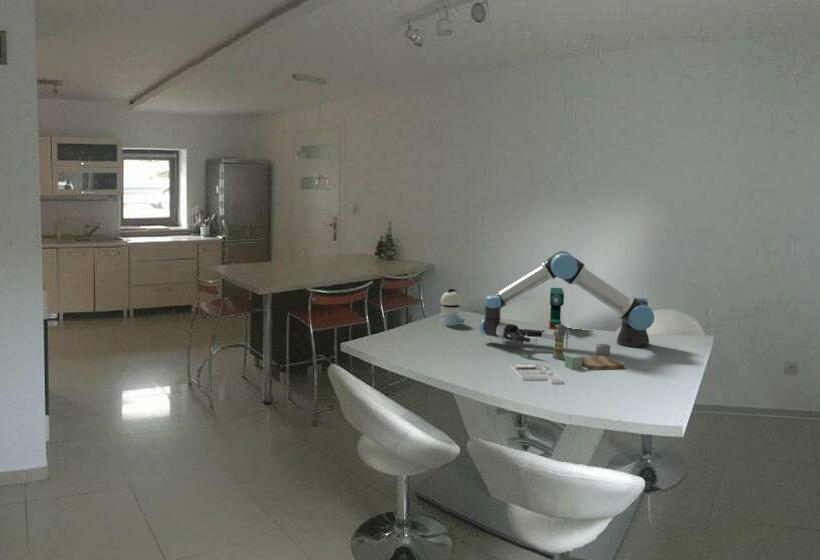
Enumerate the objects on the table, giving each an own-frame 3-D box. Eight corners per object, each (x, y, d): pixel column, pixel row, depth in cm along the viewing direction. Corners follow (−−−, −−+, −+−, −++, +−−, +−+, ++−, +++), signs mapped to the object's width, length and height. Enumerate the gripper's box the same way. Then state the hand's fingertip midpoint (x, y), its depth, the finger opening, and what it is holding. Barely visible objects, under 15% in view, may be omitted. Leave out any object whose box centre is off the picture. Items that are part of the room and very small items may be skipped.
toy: (469, 325, 375) (470, 289, 373) (454, 328, 366) (455, 291, 364) (447, 320, 386) (448, 286, 384) (432, 323, 377) (433, 288, 374)
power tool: (562, 334, 354) (564, 296, 351) (548, 333, 355) (550, 296, 353) (561, 323, 385) (563, 288, 382) (549, 322, 386) (550, 287, 384)
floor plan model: (546, 367, 289) (546, 363, 289) (564, 384, 265) (565, 380, 264) (510, 368, 288) (510, 363, 288) (526, 385, 263) (526, 380, 263)
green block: (574, 365, 292) (575, 354, 291) (581, 368, 287) (582, 356, 287) (564, 366, 290) (565, 355, 289) (572, 369, 285) (572, 357, 285)
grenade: (551, 356, 307) (552, 323, 305) (565, 356, 307) (567, 323, 305) (555, 360, 300) (557, 327, 298) (570, 360, 300) (572, 327, 298)
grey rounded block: (606, 354, 313) (606, 343, 312) (611, 357, 307) (612, 346, 306) (593, 354, 312) (594, 344, 311) (599, 357, 306) (599, 347, 305)
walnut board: (608, 359, 303) (608, 355, 303) (624, 368, 288) (624, 365, 287) (574, 360, 301) (574, 356, 301) (588, 369, 285) (588, 366, 285)
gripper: (523, 335, 333) (560, 343, 318) (490, 343, 316) (528, 351, 300) (524, 320, 332) (561, 327, 317) (491, 327, 315) (528, 334, 299)
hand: (545, 339), depth 308 cm, fingers open, 13 cm apart
